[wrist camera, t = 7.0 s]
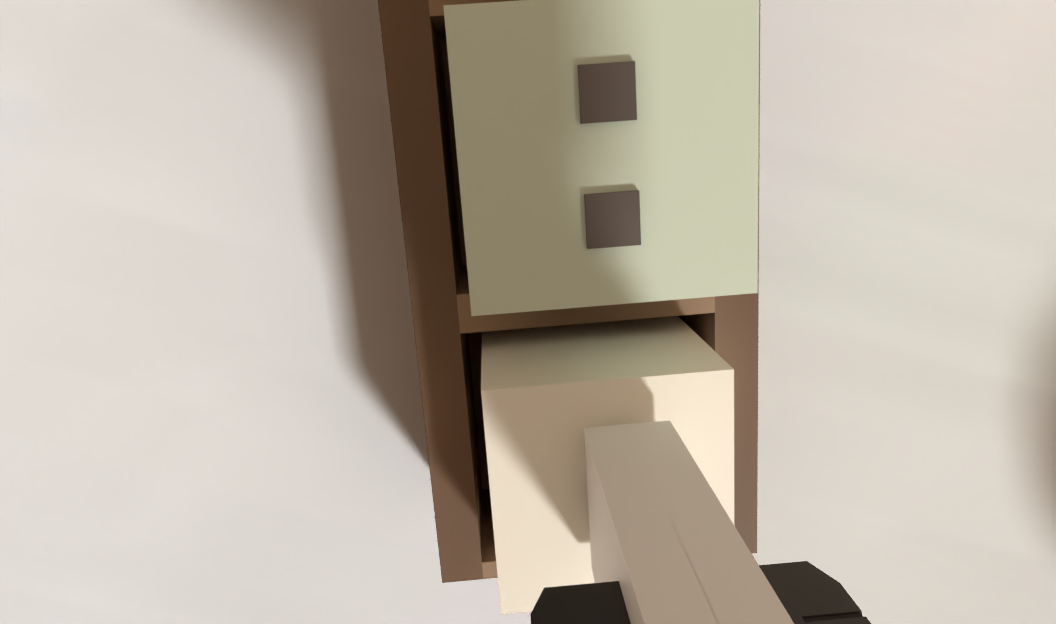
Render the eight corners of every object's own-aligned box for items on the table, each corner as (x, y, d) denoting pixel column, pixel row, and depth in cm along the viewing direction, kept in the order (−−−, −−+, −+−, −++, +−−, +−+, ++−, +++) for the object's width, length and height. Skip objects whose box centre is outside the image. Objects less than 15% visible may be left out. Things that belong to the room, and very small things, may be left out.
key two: (475, 265, 15) (471, 318, 11) (456, 44, 14) (442, 4, 10) (681, 248, 16) (759, 294, 11) (677, 29, 15) (762, -17, 10)
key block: (450, 495, 20) (442, 582, 16) (370, -272, 16) (332, -406, 12) (704, 472, 20) (756, 553, 16) (694, -288, 16) (762, -425, 12)
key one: (496, 497, 18) (500, 617, 14) (482, 324, 17) (480, 393, 12) (674, 481, 18) (735, 594, 14) (670, 308, 17) (735, 371, 13)
